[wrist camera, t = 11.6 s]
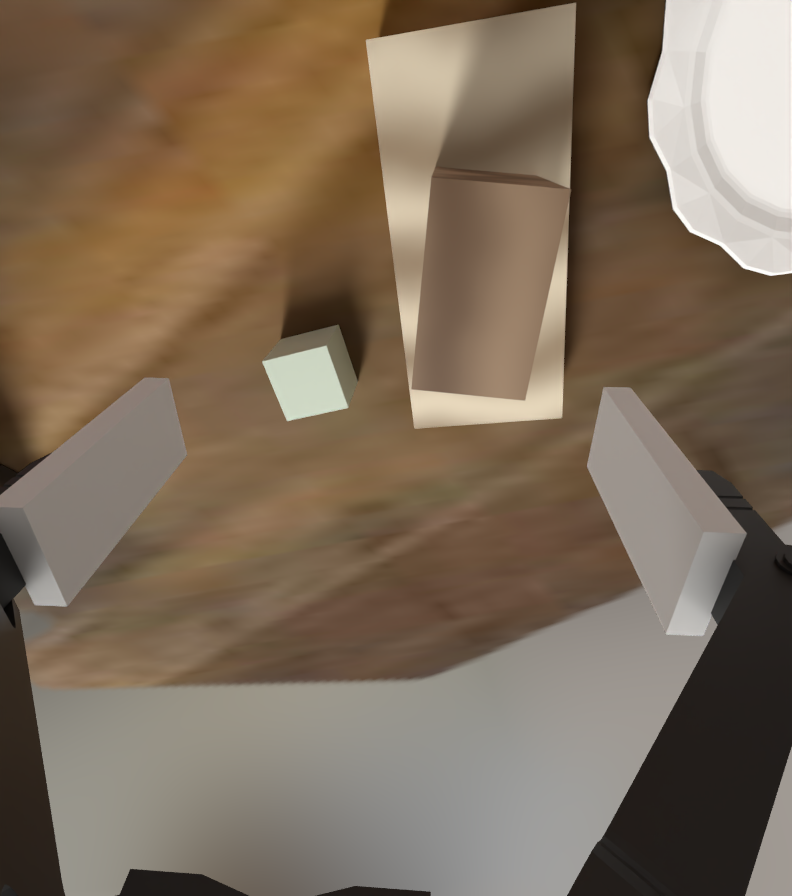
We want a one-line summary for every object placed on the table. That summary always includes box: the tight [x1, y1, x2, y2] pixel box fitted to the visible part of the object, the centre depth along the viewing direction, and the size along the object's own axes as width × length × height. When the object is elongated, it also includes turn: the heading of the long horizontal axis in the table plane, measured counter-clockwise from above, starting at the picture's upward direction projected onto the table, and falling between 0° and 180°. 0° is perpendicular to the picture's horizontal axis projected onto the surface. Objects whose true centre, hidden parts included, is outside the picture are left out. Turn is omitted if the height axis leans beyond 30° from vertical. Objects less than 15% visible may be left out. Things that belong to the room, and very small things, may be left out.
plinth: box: [366, 3, 576, 429], centre depth 36 cm, size 24×11×5 cm, turn 7°
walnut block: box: [411, 167, 571, 401], centre depth 29 cm, size 6×10×10 cm, turn 176°
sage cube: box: [262, 325, 358, 421], centre depth 41 cm, size 5×5×5 cm
